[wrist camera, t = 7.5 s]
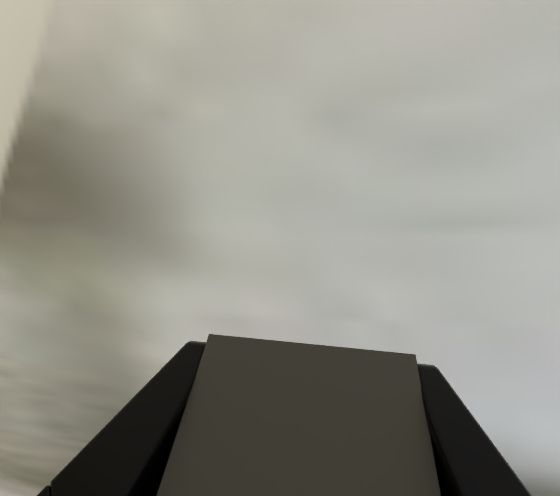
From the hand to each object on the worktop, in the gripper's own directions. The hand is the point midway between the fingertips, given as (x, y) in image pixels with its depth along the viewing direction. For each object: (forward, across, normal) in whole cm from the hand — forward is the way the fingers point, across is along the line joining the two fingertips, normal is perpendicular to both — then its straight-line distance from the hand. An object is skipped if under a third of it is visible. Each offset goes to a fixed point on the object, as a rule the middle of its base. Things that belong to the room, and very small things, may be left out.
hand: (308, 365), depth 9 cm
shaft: (0, 0, +10) cm, 10 cm away
